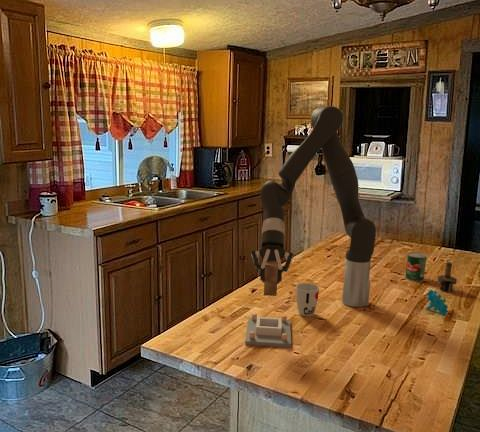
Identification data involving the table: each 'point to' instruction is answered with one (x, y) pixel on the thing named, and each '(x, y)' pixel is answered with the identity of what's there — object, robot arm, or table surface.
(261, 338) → the housing plate
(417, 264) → the canned tomato
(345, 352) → the table surface
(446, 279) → the industrial component
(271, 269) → the brown block
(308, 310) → the cup
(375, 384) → the table surface
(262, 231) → the robot arm
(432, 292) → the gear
